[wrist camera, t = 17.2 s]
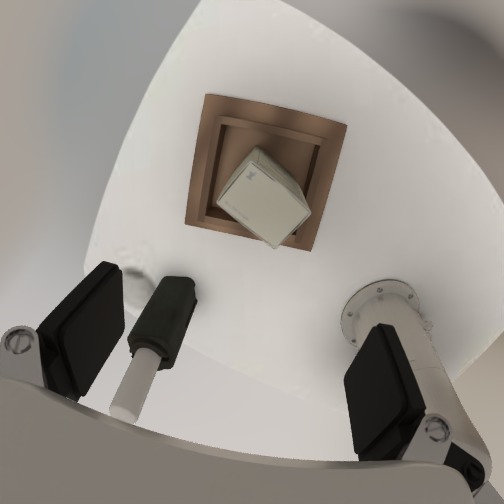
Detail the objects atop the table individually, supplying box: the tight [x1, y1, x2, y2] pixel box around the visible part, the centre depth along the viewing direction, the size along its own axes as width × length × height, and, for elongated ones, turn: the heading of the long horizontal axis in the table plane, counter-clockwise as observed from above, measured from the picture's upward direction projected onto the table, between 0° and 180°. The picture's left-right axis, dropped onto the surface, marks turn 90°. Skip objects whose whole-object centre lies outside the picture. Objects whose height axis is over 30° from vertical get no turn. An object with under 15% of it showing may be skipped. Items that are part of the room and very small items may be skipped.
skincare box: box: [217, 145, 311, 249], centre depth 27 cm, size 6×4×12 cm
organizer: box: [185, 94, 347, 252], centre depth 32 cm, size 16×16×4 cm
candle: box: [109, 276, 197, 425], centre depth 31 cm, size 5×5×25 cm
